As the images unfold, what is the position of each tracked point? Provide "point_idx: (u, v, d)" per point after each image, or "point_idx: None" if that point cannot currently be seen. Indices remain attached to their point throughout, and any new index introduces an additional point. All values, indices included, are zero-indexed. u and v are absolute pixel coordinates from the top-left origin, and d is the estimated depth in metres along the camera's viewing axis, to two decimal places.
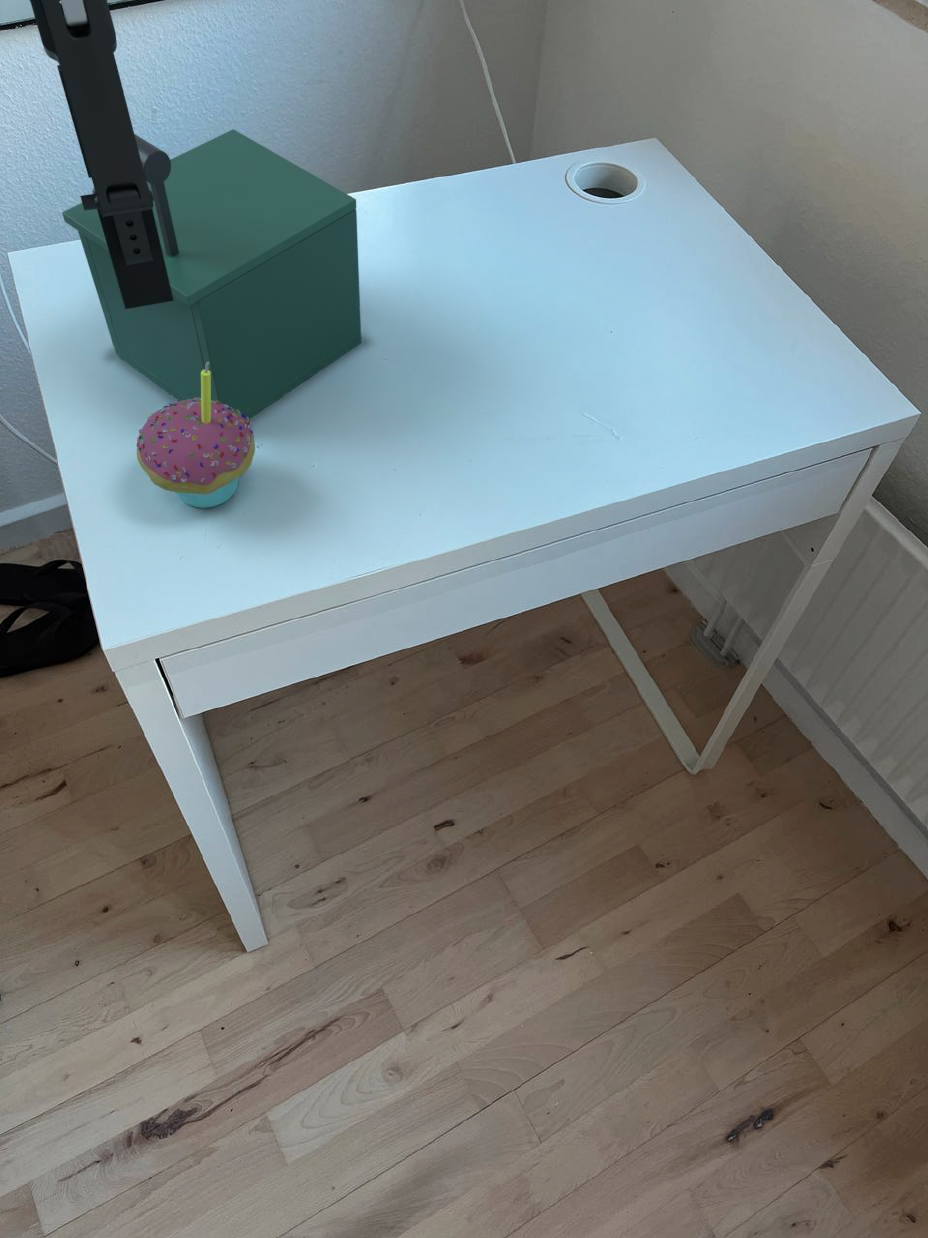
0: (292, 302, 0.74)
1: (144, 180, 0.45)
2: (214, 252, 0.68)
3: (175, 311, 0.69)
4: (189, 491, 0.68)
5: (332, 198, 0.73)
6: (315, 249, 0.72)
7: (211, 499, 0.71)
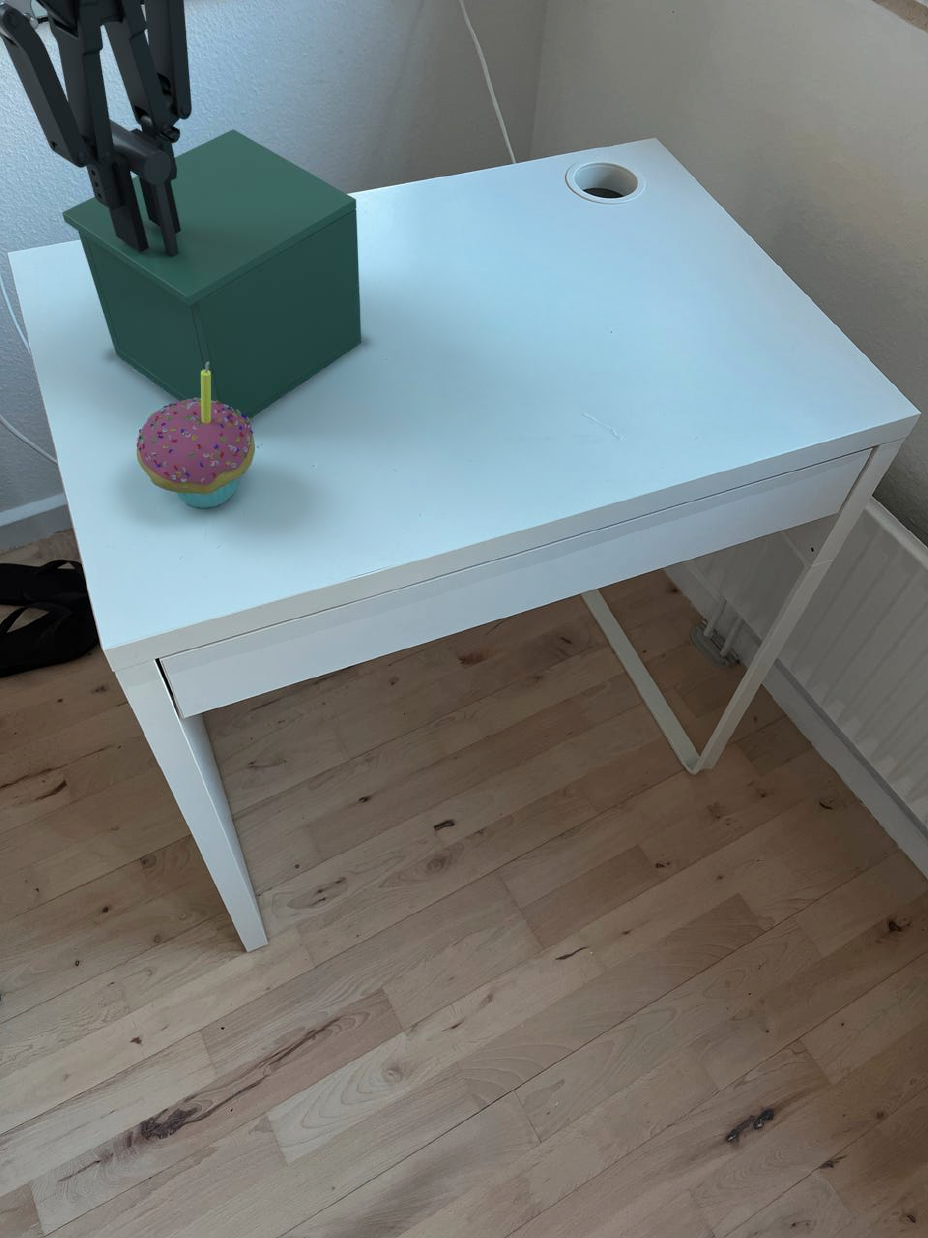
0: (292, 302, 0.74)
1: (68, 151, 0.58)
2: (214, 252, 0.68)
3: (175, 311, 0.69)
4: (189, 491, 0.68)
5: (332, 198, 0.73)
6: (315, 249, 0.72)
7: (211, 499, 0.71)
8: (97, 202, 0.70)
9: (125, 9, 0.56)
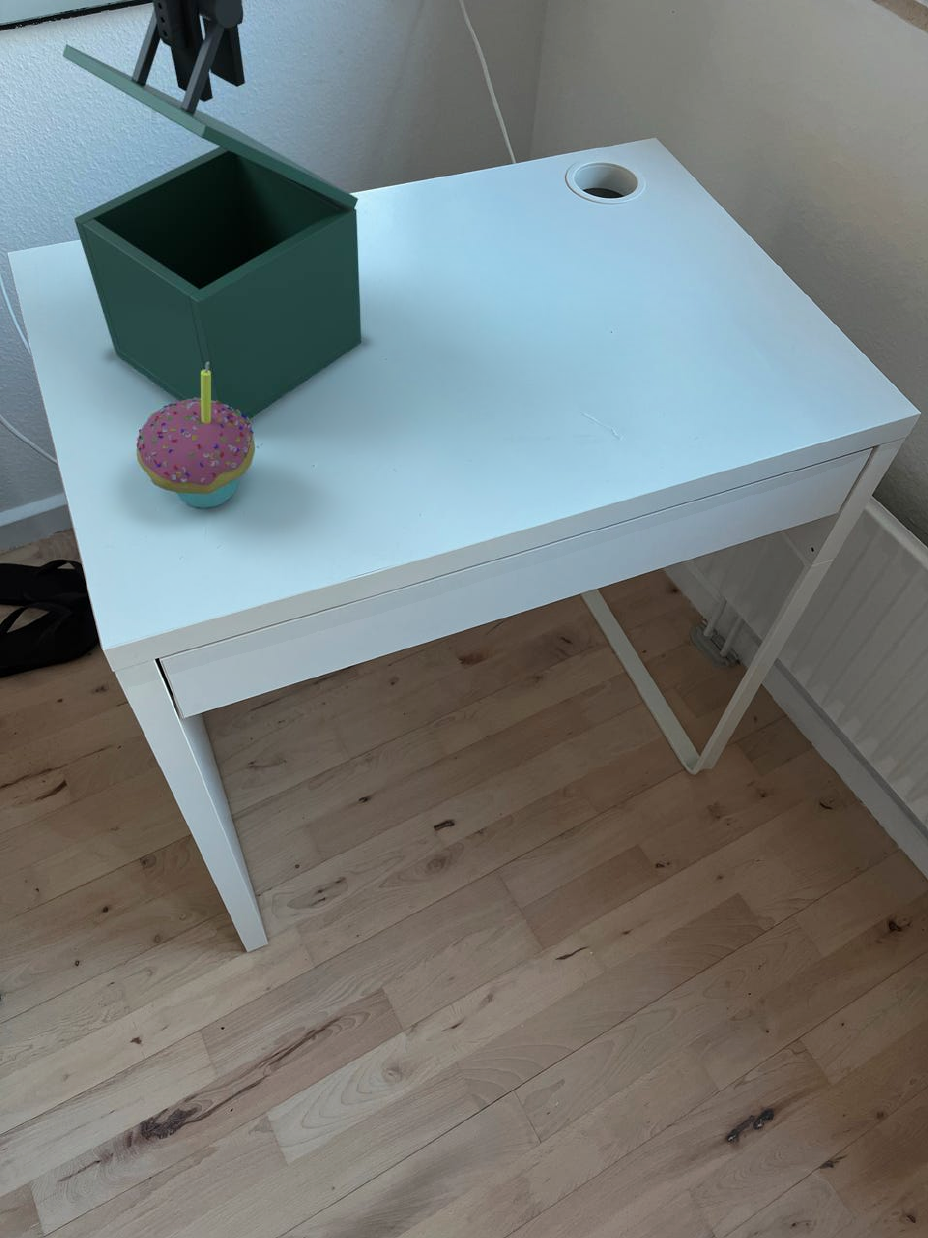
0: (292, 302, 0.74)
1: None
2: (230, 134, 0.63)
3: (175, 311, 0.69)
4: (189, 491, 0.68)
5: (336, 187, 0.72)
6: (315, 249, 0.72)
7: (211, 499, 0.71)
8: (104, 63, 0.65)
9: None
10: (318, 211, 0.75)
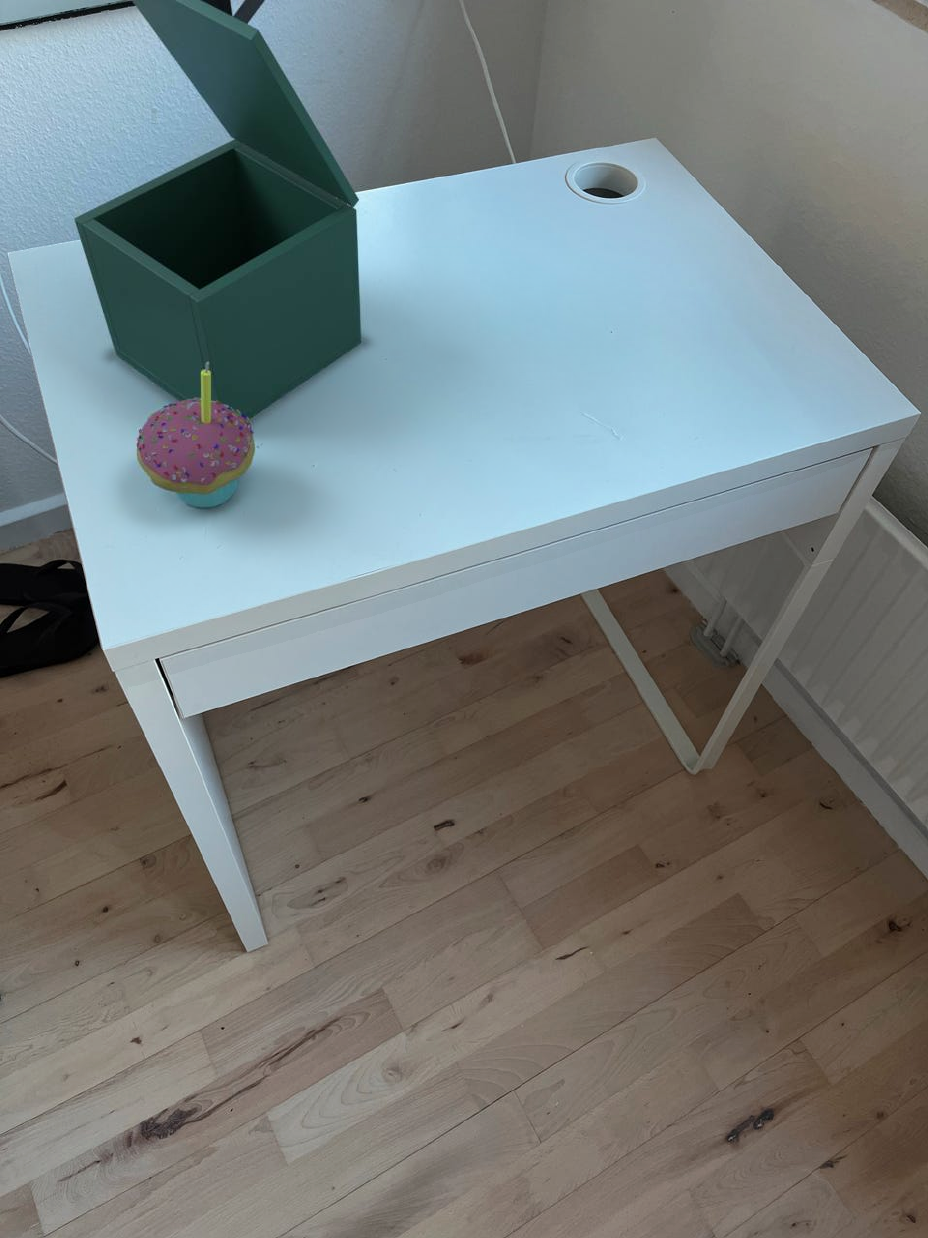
0: (292, 302, 0.74)
1: None
2: None
3: (175, 311, 0.69)
4: (189, 491, 0.68)
5: None
6: (315, 249, 0.72)
7: (211, 499, 0.71)
8: None
9: None
10: (318, 211, 0.75)
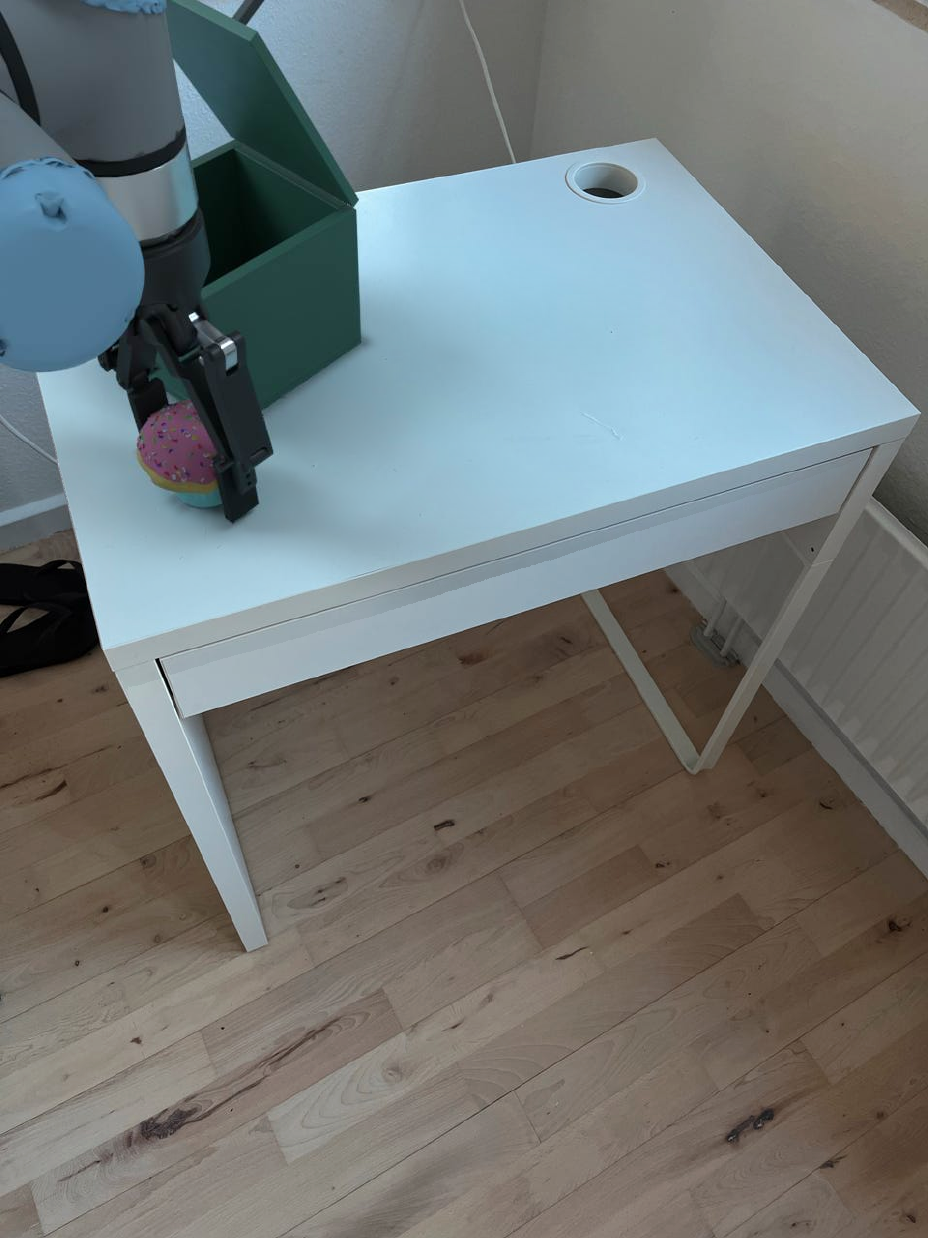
0: (292, 302, 0.74)
1: (269, 442, 0.64)
2: None
3: None
4: (189, 491, 0.68)
5: None
6: (315, 249, 0.72)
7: (211, 499, 0.71)
8: None
9: None
10: (318, 211, 0.75)
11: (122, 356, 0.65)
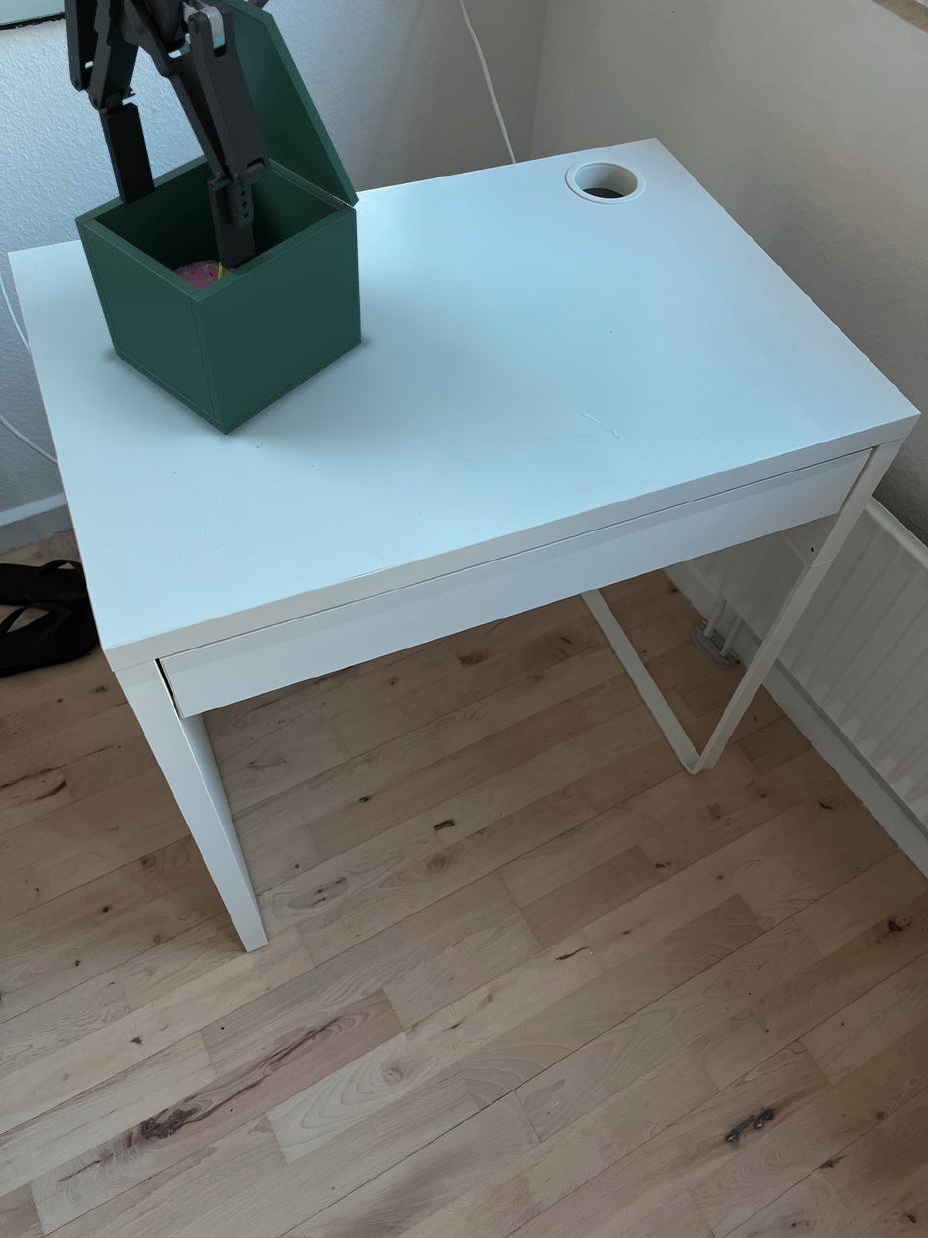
0: (292, 302, 0.74)
1: (266, 154, 0.61)
2: None
3: (175, 311, 0.69)
4: None
5: None
6: (315, 249, 0.72)
7: None
8: None
9: None
10: (318, 211, 0.75)
11: (98, 64, 0.63)
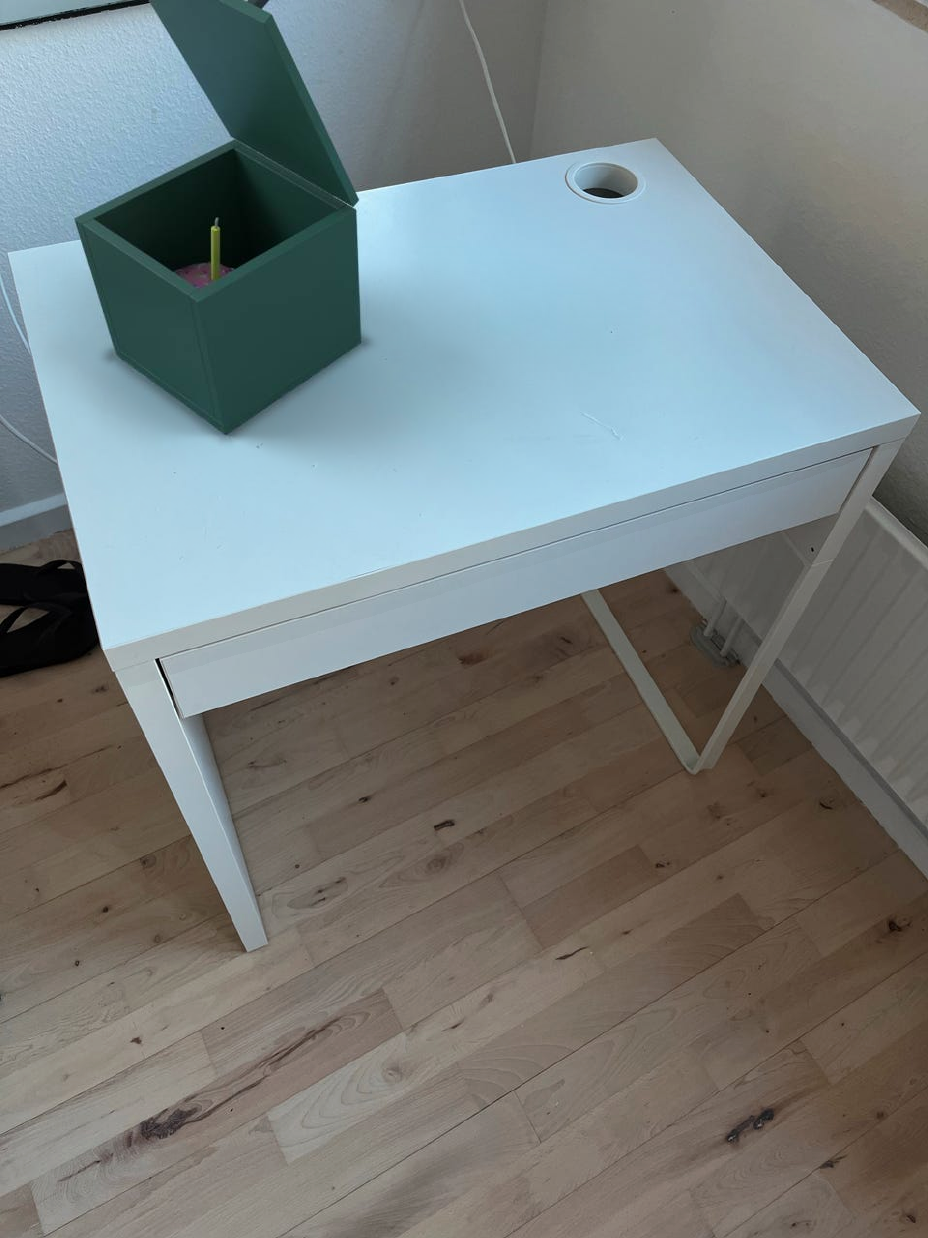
0: (292, 302, 0.74)
1: None
2: None
3: (175, 311, 0.69)
4: None
5: None
6: (315, 249, 0.72)
7: None
8: None
9: None
10: (318, 211, 0.75)
11: None
